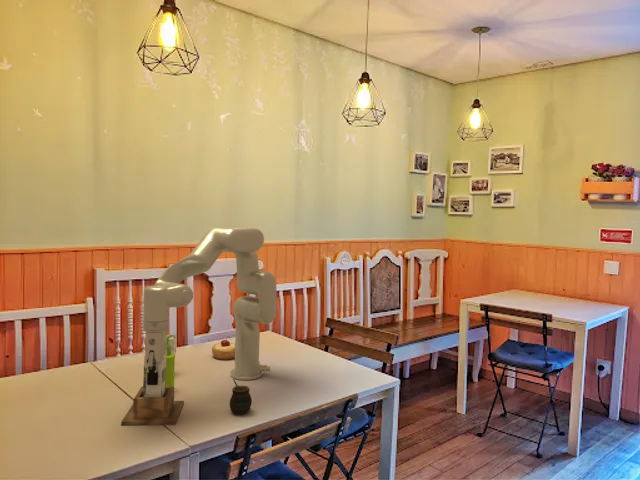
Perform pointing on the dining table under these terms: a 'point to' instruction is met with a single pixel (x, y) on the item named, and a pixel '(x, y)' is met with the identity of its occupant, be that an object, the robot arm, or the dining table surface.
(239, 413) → the mate gourd
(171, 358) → the soap dispenser
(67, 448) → the dining table surface
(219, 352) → the pastry
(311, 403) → the dining table surface
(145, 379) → the syrup box
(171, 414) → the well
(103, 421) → the dining table surface
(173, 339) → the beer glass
